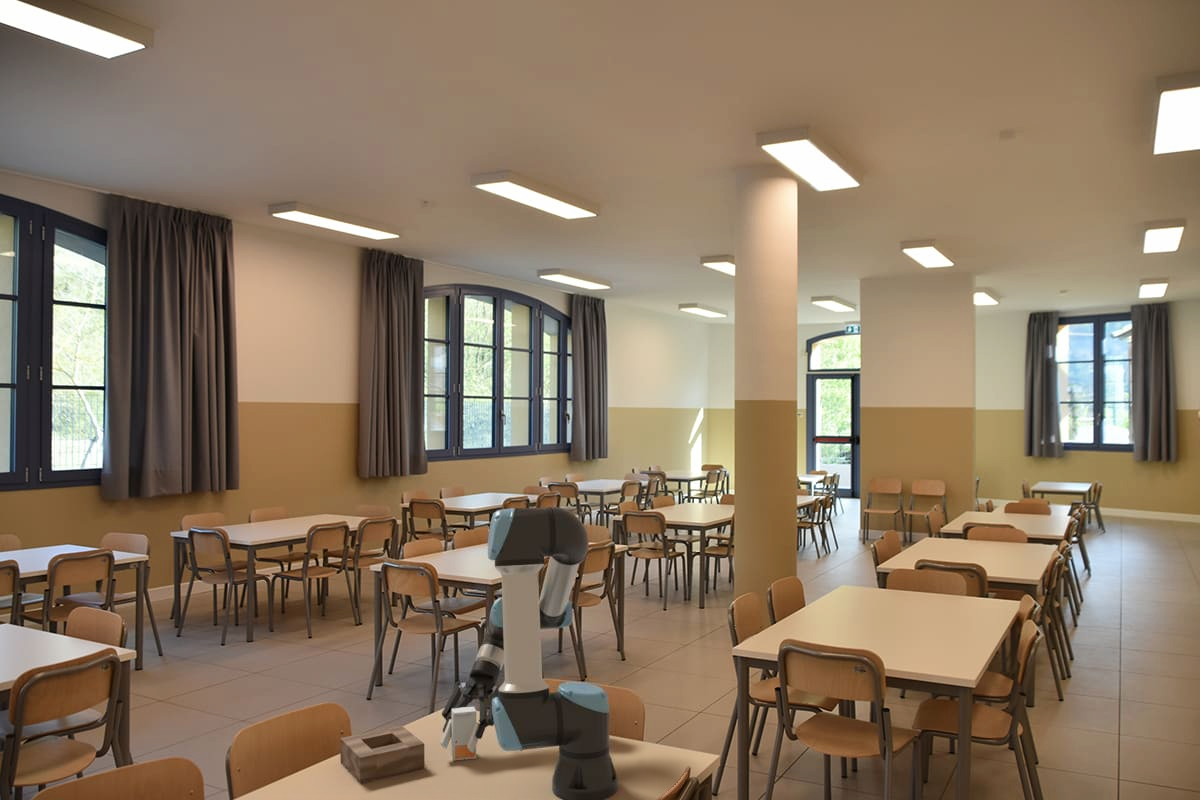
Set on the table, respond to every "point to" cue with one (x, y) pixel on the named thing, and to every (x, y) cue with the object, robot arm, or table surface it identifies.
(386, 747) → the holder block
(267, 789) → the table surface
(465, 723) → the skincare box
